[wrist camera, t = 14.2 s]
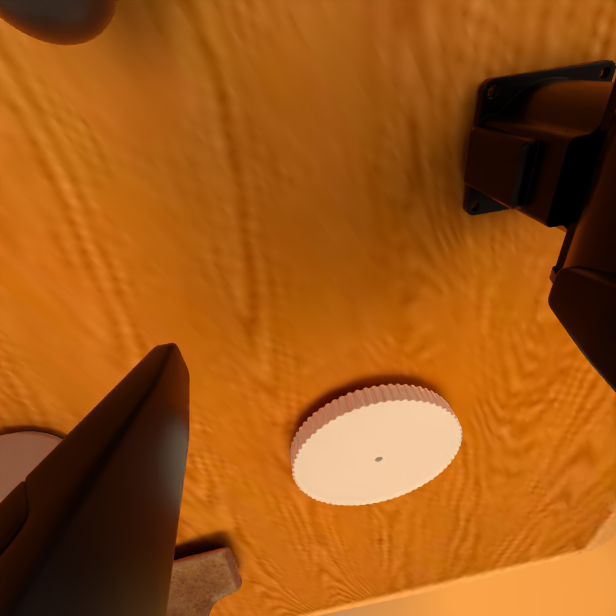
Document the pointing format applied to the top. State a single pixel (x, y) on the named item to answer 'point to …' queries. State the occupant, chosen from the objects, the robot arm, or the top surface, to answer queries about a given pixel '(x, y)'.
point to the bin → (59, 18)
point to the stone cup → (202, 582)
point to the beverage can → (22, 456)
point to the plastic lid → (374, 445)
